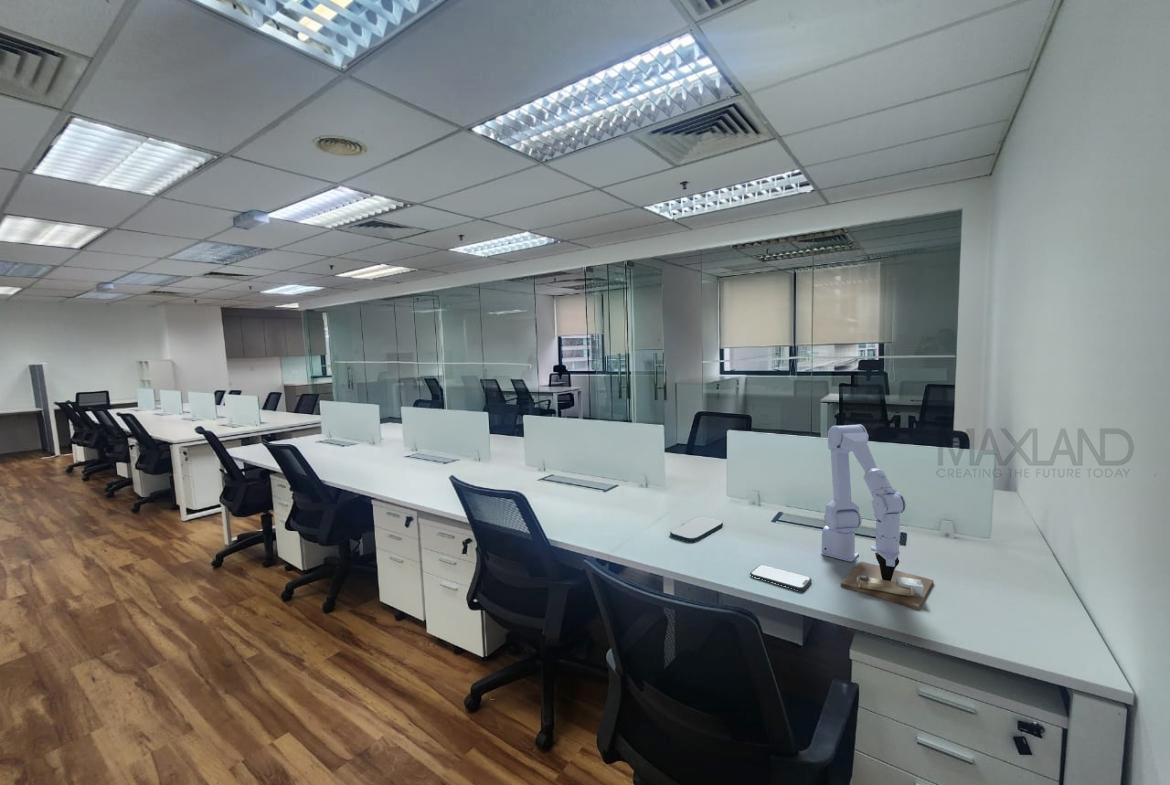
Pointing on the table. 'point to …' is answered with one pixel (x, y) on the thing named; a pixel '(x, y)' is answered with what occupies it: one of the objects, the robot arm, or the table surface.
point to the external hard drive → (696, 529)
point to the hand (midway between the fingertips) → (886, 579)
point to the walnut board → (874, 572)
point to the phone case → (782, 577)
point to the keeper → (911, 585)
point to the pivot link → (882, 585)
